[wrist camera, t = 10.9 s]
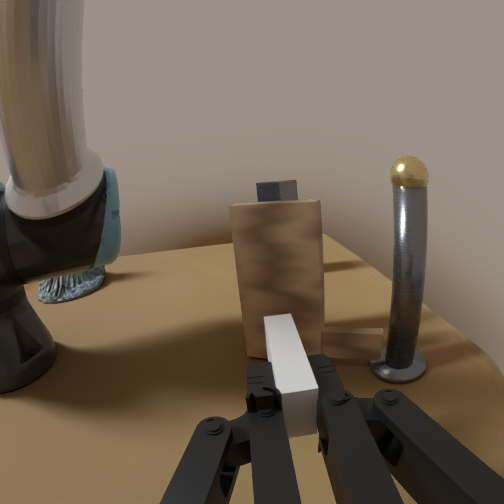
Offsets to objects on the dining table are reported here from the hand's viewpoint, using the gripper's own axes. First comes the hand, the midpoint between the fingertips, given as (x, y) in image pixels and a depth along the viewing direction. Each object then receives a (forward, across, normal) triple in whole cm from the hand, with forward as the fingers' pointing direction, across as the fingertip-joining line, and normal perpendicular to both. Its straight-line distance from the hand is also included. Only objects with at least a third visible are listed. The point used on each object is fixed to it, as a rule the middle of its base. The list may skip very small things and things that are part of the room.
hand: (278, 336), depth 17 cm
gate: (+11, +4, -10) cm, 15 cm away
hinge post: (+7, +13, -10) cm, 18 cm away
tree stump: (+45, -42, -11) cm, 63 cm away
